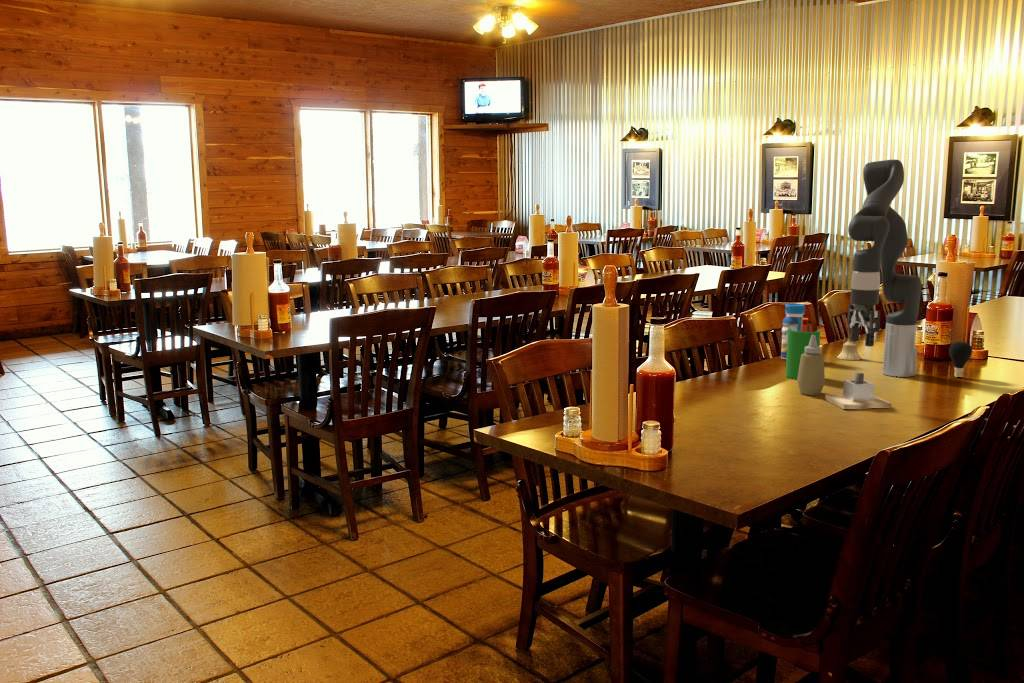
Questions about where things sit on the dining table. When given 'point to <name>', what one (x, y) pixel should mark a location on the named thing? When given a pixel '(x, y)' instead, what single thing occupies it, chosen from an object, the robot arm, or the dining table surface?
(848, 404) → the stand
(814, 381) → the squeeze bottle
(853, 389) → the collar
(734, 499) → the dining table surface
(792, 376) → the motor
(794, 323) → the beverage bottle
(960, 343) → the light bulb
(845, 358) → the hand bell
